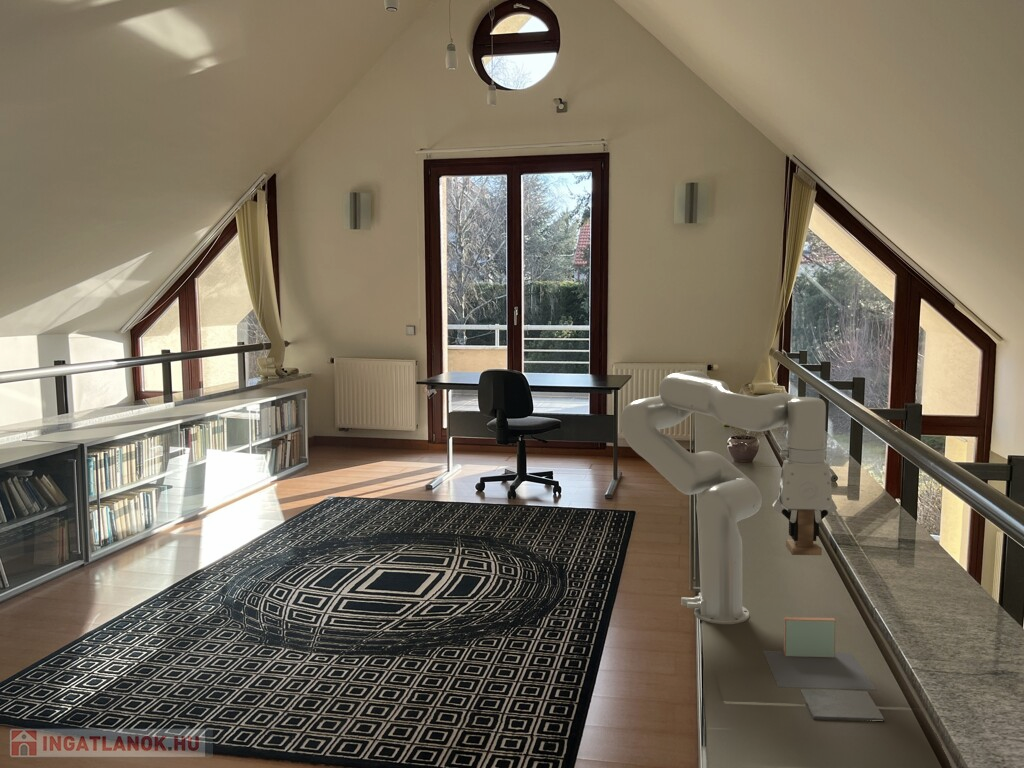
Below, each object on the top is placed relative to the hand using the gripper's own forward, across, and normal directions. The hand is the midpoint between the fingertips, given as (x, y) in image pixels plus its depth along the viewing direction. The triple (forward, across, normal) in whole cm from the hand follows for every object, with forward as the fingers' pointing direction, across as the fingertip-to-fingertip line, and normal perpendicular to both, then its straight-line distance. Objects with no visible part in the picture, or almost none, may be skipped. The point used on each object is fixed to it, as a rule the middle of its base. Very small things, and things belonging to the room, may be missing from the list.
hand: (803, 538), depth 173 cm
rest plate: (+23, 0, -29) cm, 37 cm away
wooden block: (+3, 0, 0) cm, 3 cm away
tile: (+22, -1, -9) cm, 24 cm away
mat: (+23, -1, -15) cm, 27 cm away
